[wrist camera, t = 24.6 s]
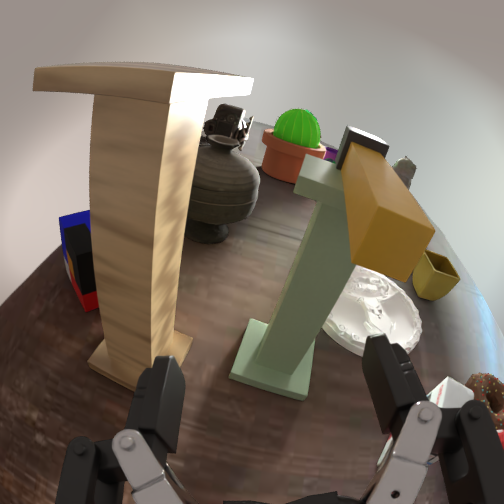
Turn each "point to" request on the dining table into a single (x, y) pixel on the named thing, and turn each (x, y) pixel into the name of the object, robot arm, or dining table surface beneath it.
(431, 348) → the dining table surface
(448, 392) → the ink box
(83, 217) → the puzzle toy
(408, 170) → the figurine
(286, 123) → the potted cactus
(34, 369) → the dining table surface
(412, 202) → the yellow bar
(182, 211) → the wooden pedestal
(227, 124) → the camera
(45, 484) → the dining table surface
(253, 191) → the pot
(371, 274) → the medallion
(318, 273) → the green pedestal stand
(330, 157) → the mug
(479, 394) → the donut
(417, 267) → the flower pot
